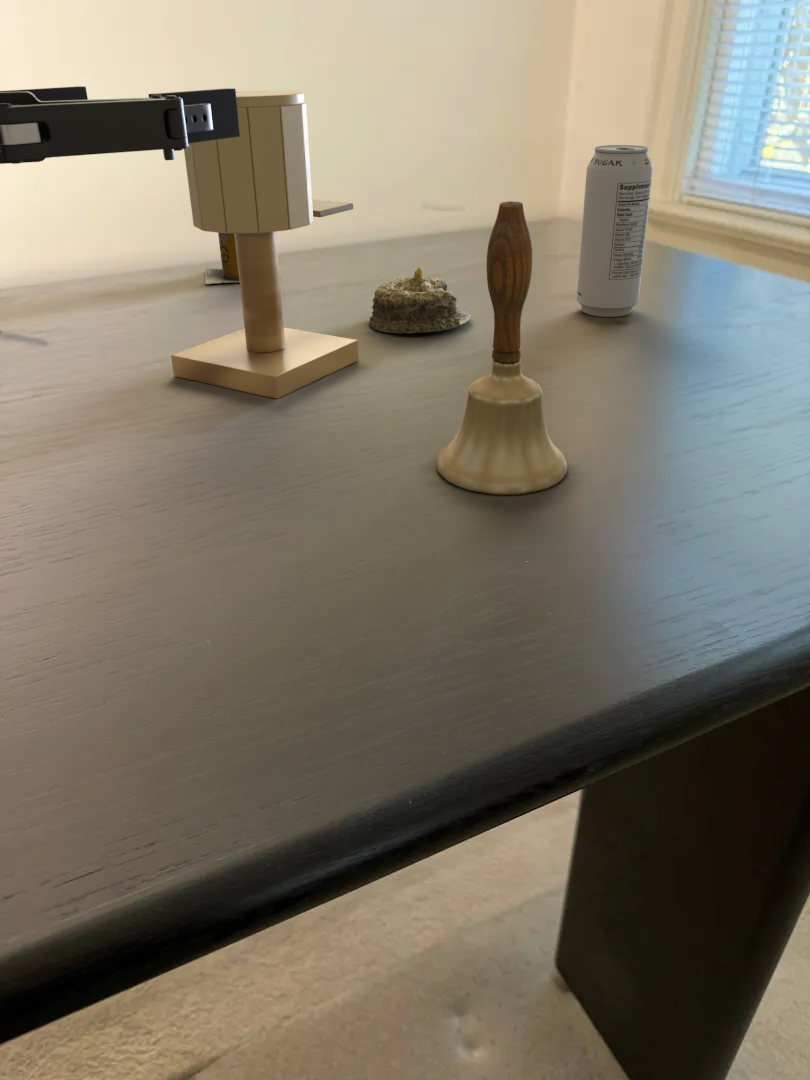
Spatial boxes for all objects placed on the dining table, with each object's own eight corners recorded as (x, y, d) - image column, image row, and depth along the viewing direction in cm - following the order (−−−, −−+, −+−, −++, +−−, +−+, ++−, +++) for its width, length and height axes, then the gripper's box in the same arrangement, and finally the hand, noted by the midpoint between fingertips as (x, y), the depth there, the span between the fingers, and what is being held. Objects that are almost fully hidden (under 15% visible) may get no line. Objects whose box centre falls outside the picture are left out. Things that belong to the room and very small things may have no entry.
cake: (379, 347, 81) (372, 288, 79) (361, 320, 90) (354, 266, 87) (483, 330, 82) (480, 271, 80) (456, 305, 91) (452, 251, 88)
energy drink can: (606, 299, 93) (621, 143, 85) (650, 311, 88) (669, 147, 81) (563, 308, 90) (574, 147, 82) (605, 321, 85) (621, 152, 78)
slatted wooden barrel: (170, 227, 68) (152, 96, 63) (281, 202, 78) (272, 87, 73) (260, 237, 64) (248, 97, 59) (366, 210, 73) (362, 88, 69)
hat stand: (173, 376, 73) (133, 107, 64) (260, 342, 81) (236, 99, 72) (276, 399, 68) (250, 110, 58) (358, 360, 76) (347, 101, 66)
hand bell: (582, 492, 53) (607, 212, 45) (444, 498, 53) (446, 216, 45) (551, 438, 60) (568, 189, 53) (429, 444, 60) (429, 193, 52)
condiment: (280, 280, 102) (270, 169, 97) (205, 285, 101) (191, 172, 95) (275, 267, 109) (265, 161, 103) (204, 271, 107) (191, 164, 101)
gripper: (-264, 203, 51) (43, 162, 66) (16, 243, 39) (309, 182, 55) (-318, 53, 47) (21, 47, 63) (-28, 48, 35) (300, 42, 51)
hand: (156, 110), depth 59 cm, fingers open, 13 cm apart
